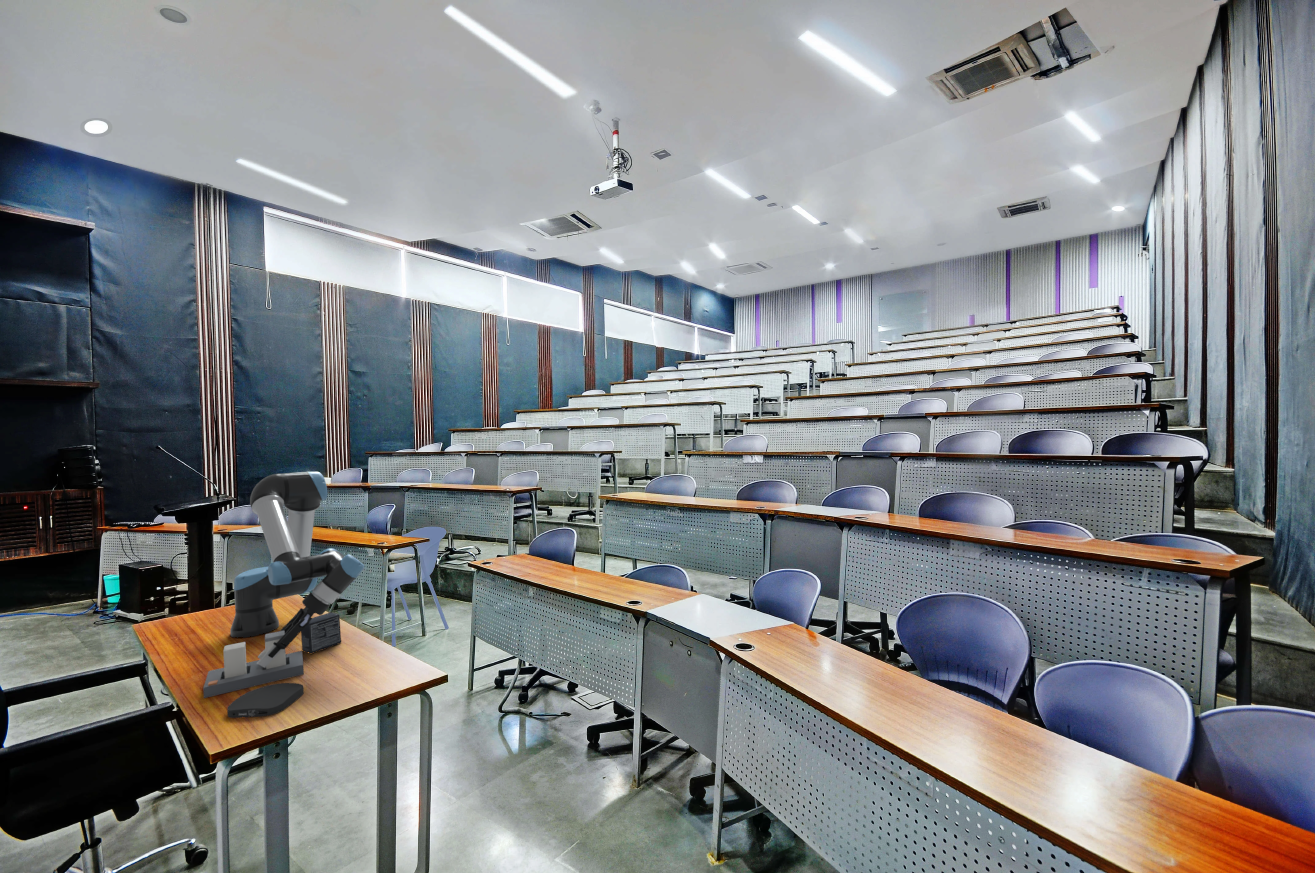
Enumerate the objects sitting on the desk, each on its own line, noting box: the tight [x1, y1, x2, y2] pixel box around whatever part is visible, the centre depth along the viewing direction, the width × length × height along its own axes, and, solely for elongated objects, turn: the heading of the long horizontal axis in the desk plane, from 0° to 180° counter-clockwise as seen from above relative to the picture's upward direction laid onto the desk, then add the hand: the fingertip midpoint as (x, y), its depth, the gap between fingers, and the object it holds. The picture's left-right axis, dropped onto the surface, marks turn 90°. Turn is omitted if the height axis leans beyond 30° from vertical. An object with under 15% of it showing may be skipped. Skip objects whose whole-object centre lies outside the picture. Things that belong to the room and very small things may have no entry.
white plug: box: [264, 630, 287, 669], centre depth 171 cm, size 5×5×11 cm
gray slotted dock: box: [202, 641, 305, 699], centre depth 168 cm, size 14×24×11 cm, turn 125°
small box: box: [300, 612, 342, 654], centre depth 192 cm, size 11×6×10 cm, turn 149°
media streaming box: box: [226, 682, 305, 719], centre depth 151 cm, size 15×15×3 cm
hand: (261, 661), depth 169 cm, fingers closed on white plug, 5 cm apart
